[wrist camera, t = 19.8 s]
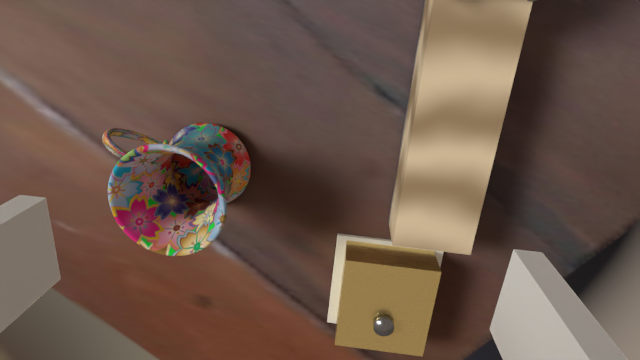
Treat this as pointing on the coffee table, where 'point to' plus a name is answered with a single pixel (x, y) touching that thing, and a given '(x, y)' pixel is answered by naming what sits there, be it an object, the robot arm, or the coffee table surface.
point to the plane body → (454, 119)
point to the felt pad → (340, 261)
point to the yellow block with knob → (386, 297)
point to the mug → (176, 186)
